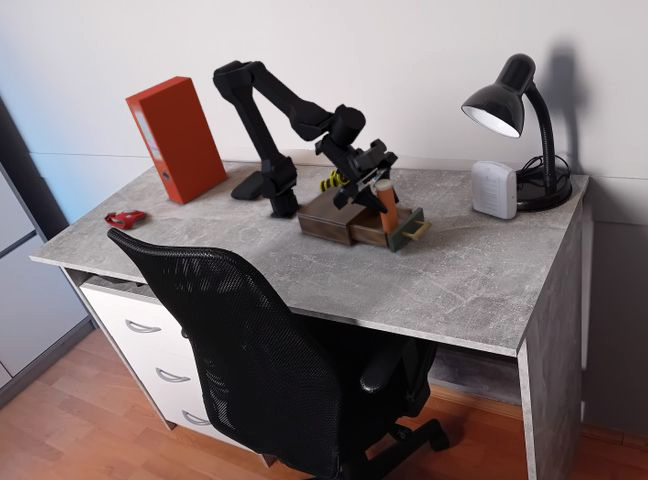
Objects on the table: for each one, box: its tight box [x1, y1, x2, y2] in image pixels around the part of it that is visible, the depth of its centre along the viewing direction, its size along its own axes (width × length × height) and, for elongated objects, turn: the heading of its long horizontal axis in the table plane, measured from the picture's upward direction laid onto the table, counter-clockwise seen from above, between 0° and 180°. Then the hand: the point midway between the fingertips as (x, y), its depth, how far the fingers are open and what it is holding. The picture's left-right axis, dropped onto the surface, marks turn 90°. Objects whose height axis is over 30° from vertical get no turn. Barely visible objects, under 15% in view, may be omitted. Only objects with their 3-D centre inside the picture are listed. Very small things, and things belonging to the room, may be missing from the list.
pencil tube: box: [374, 179, 399, 234], centre depth 120 cm, size 4×4×12 cm
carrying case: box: [230, 170, 264, 202], centre depth 159 cm, size 11×3×15 cm
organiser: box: [295, 186, 377, 247], centre depth 132 cm, size 16×14×6 cm
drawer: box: [348, 205, 433, 254], centre depth 123 cm, size 19×12×4 cm, turn 51°
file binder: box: [124, 75, 228, 205], centre depth 160 cm, size 8×17×32 cm, turn 138°
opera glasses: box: [318, 169, 349, 194], centre depth 150 cm, size 10×5×5 cm, turn 149°
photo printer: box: [470, 160, 518, 220], centre depth 121 cm, size 10×4×12 cm, turn 42°
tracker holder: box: [102, 209, 146, 230], centre depth 159 cm, size 12×4×10 cm
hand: (392, 207), depth 119 cm, fingers open, 4 cm apart
